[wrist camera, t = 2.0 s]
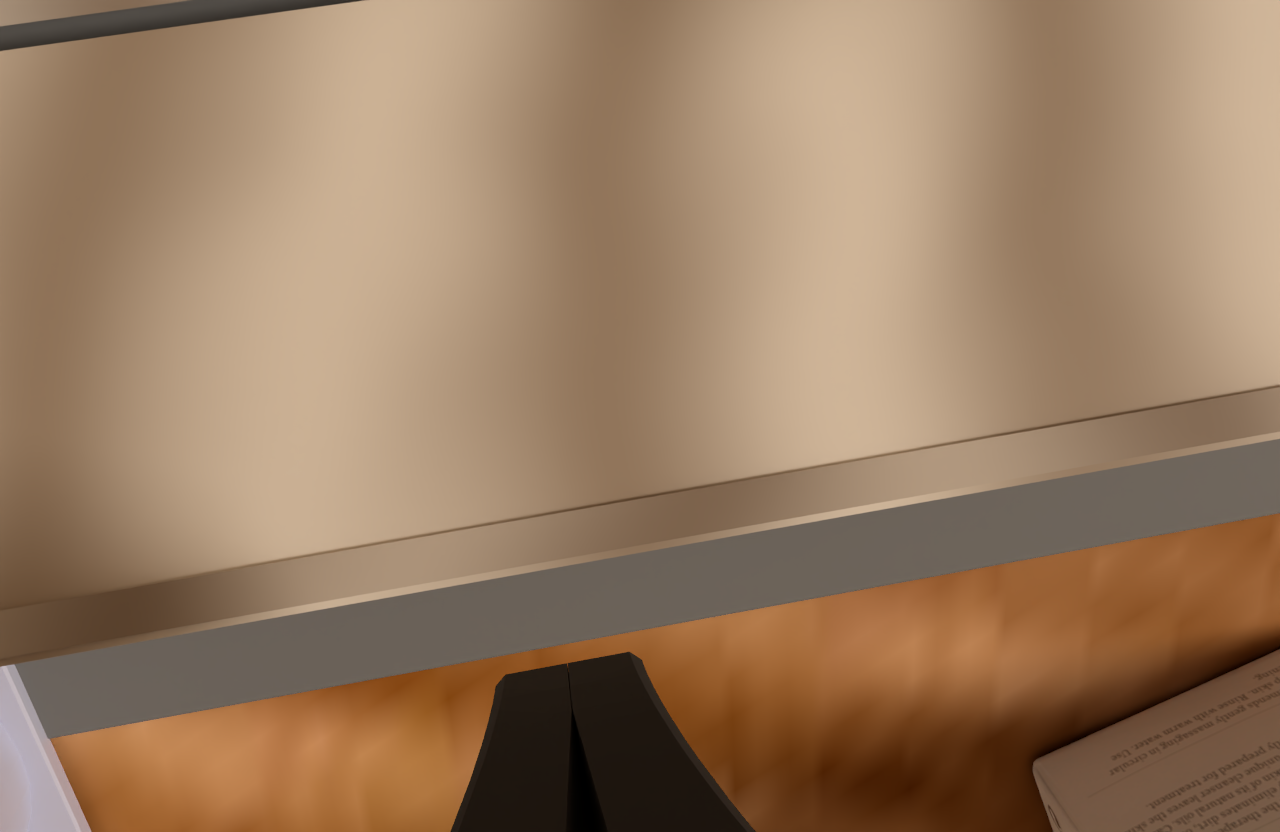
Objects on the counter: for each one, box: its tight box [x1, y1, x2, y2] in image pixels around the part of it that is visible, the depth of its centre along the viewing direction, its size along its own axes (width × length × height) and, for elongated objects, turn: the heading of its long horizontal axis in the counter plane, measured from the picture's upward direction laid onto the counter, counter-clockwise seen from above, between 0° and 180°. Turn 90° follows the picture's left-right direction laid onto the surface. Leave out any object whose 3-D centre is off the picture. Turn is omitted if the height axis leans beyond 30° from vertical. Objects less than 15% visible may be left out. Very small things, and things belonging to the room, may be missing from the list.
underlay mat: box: [0, 0, 1280, 739], centre depth 17 cm, size 26×22×1 cm
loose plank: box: [0, 0, 1280, 667], centre depth 16 cm, size 22×8×1 cm
